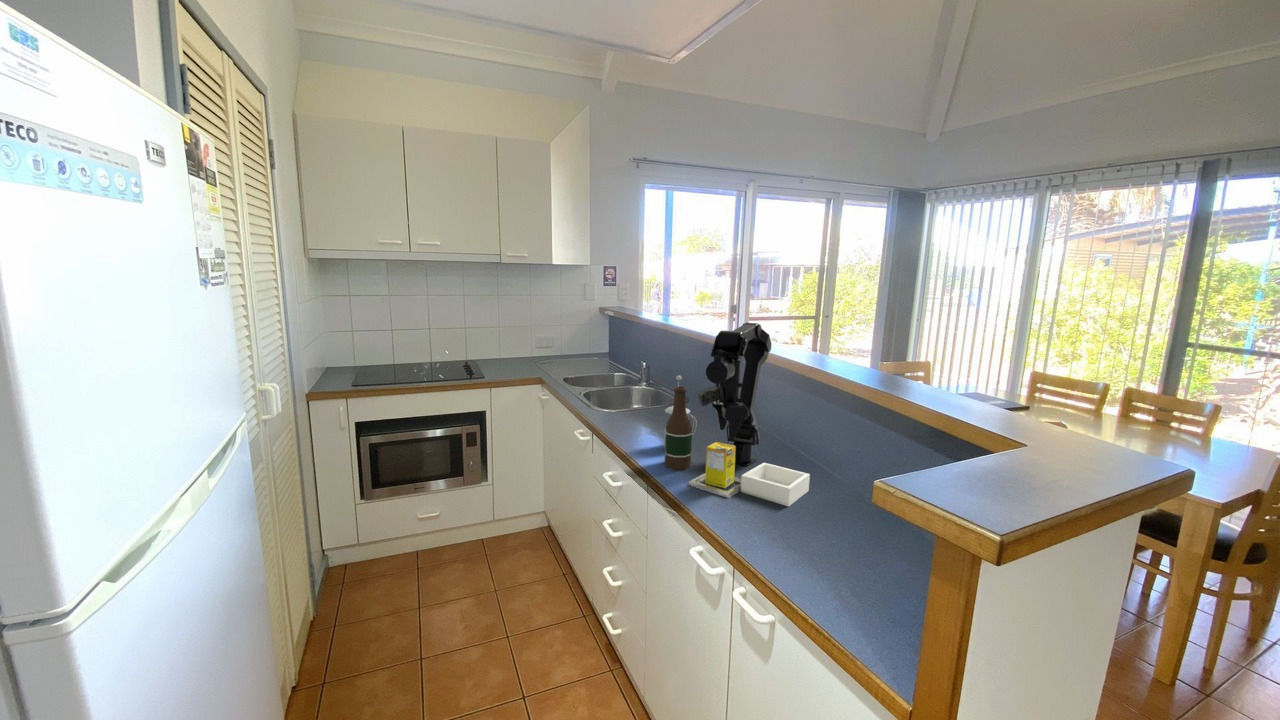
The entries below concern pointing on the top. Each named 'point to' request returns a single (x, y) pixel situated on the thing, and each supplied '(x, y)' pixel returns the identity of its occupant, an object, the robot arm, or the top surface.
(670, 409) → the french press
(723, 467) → the supplement box
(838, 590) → the top surface
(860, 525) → the top surface
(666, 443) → the beer bottle
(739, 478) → the collar
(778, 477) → the bin
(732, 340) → the robot arm
